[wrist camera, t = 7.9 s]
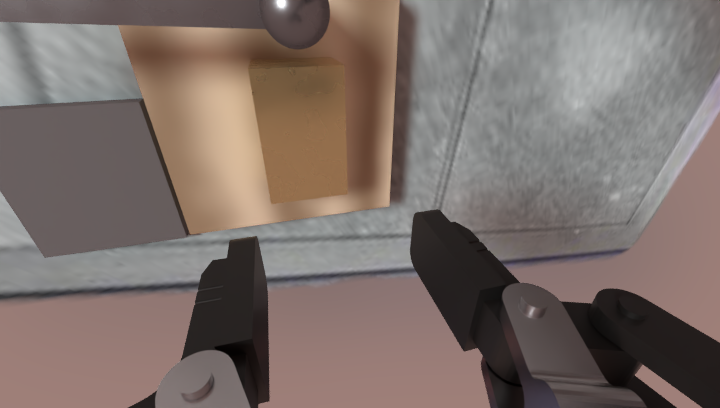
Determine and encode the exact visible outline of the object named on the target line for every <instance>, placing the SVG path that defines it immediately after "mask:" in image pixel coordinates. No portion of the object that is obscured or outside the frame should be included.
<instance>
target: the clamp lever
mask: <svg viewBox="0 0 720 408" xmlns="http://www.w3.org/2000/svg"><path fill="white" fill-rule="evenodd" d="M329 20H330V6H329V1H328V0H0V22H28V23H63V24H99V25H134V26H170V27H205V28H240V29H266V30H267V31H268V33H269V34H270V35H271V36H272V38H273V39H275V40H276V41H277V42H278V43H280V44H281V45H283V46H285V47H288V48H291V49H306V48H309V47H311V46H313V45H315V44H316V43H317V42H318V41H319V40H320V39H321V38H322V37H323V36H324V34H325V32H326V30H327V28H328V24H329Z"/></svg>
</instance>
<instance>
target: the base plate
mask: <svg viewBox="0 0 720 408" xmlns="http://www.w3.org/2000/svg"><path fill="white" fill-rule="evenodd" d="M328 1H329V6H330V20H329V24H328V28H327V30H326V32H325V34H324V36H323V37H322V38H321V39H320V40H319V41H318V42H317V43H316V44H315V45H313V46H311V47H309V48H306V49H291V48H288V47H285V46H283V45H281V44H280V43H278V42H277V41H276V40H275V39H273V38H272V36H271V35H270V34H269V33H268V31H267V30H266V29H240V28H205V27H170V26H134V25H118V27H119V30H120V32H121V35H122V38H123V41H124V44H125V47H126V50H127V53H128V56H129V59H130V61H131V64H132V67H133V70H134V73H135V76H136V79H137V82H138V85H139V88H140V91H141V93H142V96H143V99H144V102H145V105H146V108H147V111H148V114H149V117H150V120H151V122H152V125H153V128H154V131H155V134H156V137H157V140H158V143H159V146H160V149H161V151H162V154H163V157H164V160H165V163H166V166H167V169H168V172H169V175H170V178H171V180H172V183H173V186H174V189H175V192H176V195H177V198H178V201H179V204H180V207H181V210H182V212H183V215H184V218H185V221H186V224H187V227H188V230H189V233H190V235H191V234H198V233H205V232H212V231H219V230H226V229H233V228H240V227H247V226H254V225H261V224H268V223H275V222H282V221H289V220H296V219H303V218H310V217H317V216H324V215H331V214H338V213H345V212H352V211H359V210H366V209H373V208H380V207H388V206H389V202H390V182H391V162H392V142H393V122H394V102H395V82H396V62H397V42H398V22H399V2H400V0H328ZM312 57H332V58H334V59H335V60H337V61H339V62H340V63H342V64H343V65H344V74H345V110H346V146H347V182H348V194H346V195H338V196H331V197H323V198H315V199H308V200H300V201H292V202H285V203H277V204H271V200H270V194H269V189H268V183H267V177H266V171H265V165H264V160H263V154H262V148H261V142H260V136H259V131H258V125H257V119H256V113H255V107H254V102H253V96H252V90H251V84H250V78H249V73H248V67H249V63H250V60H255V59H283V58H312Z"/></svg>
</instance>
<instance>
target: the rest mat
mask: <svg viewBox="0 0 720 408" xmlns="http://www.w3.org/2000/svg"><path fill="white" fill-rule="evenodd" d="M0 191H1V193H2V194H3V196H4V197H5V199H6V200H7V202H8V203H9V205H10V206H11V208H12V209H13V211H14V212H15V214H16V215H17V217H18V218H19V220H20V221H21V223H22V224H23V226H24V227H25V229H26V230H27V232H28V233H29V235H30V236H31V238H32V239H33V241H34V242H35V244H36V245H37V247H38V248H39V250H40V251H41V253H42V254H43V256H44V257H45V258H46V257H53V256H60V255H67V254H74V253H81V252H88V251H95V250H102V249H109V248H116V247H122V246H129V245H136V244H143V243H150V242H157V241H164V240H171V239H178V238H185V237H187V235H188V232H189V230H188V227H187V224H186V221H185V218H184V215H183V212H182V210H181V207H180V204H179V201H178V198H177V195H176V192H175V189H174V186H173V183H172V180H171V178H170V175H169V172H168V169H167V166H166V163H165V160H164V157H163V154H162V151H161V149H160V146H159V143H158V140H157V137H156V134H155V131H154V128H153V125H152V122H151V120H150V117H149V114H148V111H147V108H146V105H145V102H144V99H126V100H108V101H91V102H73V103H55V104H37V105H20V106H2V107H0Z"/></svg>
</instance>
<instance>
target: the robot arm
mask: <svg viewBox="0 0 720 408" xmlns="http://www.w3.org/2000/svg"><path fill="white" fill-rule="evenodd" d="M410 255H411V260H412V264H413V266H414V268H415V270H416V272H417V273H418V275H419V277H420V279H421V280H422V282H423V284H424V285H425V287H426V289H427V290H428V292H429V294H430V295H431V297H432V299H433V300H434V302H435V304H436V305H437V307H438V309H439V310H440V312H441V314H442V316H443V317H444V319H445V320H446V322H447V324H448V326H449V327H450V329H451V331H452V332H453V334H454V336H455V337H456V339H457V341H458V342H459V344H460V346H461V348H462V349H463V351H468V350H472V349H475V348H478V349H479V350H480V352H481V354H482V355H483V357H482V360H481V370H482V374H483V378H484V382H485V386H486V390H487V394H488V399H489V403H490V407H491V408H676V407H675V406H673V405H672V404H671V403H670V402H669V401H667V400H666V399H665V398H663V397H662V396H661V395H659V394H658V393H657V392H655V391H654V390H653V389H652V388H650V387H649V386H648V385H646V384H645V383H644V382H642V381H641V380H640V379H638V378H637V377H636V376H635V374H636V373H637V371H638V370H639V369H640V367H641V366H642V365H645V366H646V367H648V368H649V369H650V370H651V371H653V372H654V373H656V374H657V375H658V376H660V377H661V378H662V379H664V380H665V381H667V382H668V383H669V384H671V385H672V386H673V387H675V388H676V389H678V390H679V391H680V392H682V393H683V394H684V395H686V396H687V397H689V398H690V399H691V400H693V401H694V402H696V403H697V404H698V405H700V406H701V407H702V408H720V343H719V342H717V341H716V340H714V339H712V338H711V337H709V336H707V335H706V334H704V333H702V332H700V331H699V330H697V329H695V328H694V327H692V326H690V325H688V324H687V323H685V322H683V321H682V320H680V319H678V318H677V317H675V316H673V315H672V314H670V313H668V312H666V311H665V310H663V309H661V308H660V307H658V306H656V305H655V304H653V303H651V302H649V301H648V300H646V299H644V298H642V297H640V296H638V295H636V294H633V293H631V292H628V291H624V290H620V289H603V290H601V291H599V292H598V293H597V295H596V297H595V299H594V301H593V303H592V304H590V303H589V304H588V303H575V302H561V301H559V300H558V298H557V297H555V296H554V295H553V294H551V293H550V292H548V291H547V290H545V289H543V288H541V287H539V286H535V285H532V284H528V283H520V282H519V281H518V280H517V279H516V278H515V277H514V276H513V275H512V274H511V273H510V272H509V271H508V270H507V269H506V267H505V266H504V265H503V264H502V263H501V262H500V261H499V260H498V259H497V258H496V257H495V256H494V255H493V254H492V253H491V252H490V251H488V250H487V248H486V247H485V245H484V244H483V243H482V242H479V239H478V238H477V237H476V236H475V235H474V234H473V233H472V232H471V231H470V230H469V229H467V228H465V227H464V226H462V225H460V224H458V223H457V222H450V221H449V220H448V219H447V218H446V217H445V215H444V214H443V213H442V212H441V211H440V210H430V211H424V212H417V213H415V214H414V217H413V226H412V236H411V247H410ZM268 347H269V341H268V291H267V281H266V275H265V270H264V266H263V261H262V256H261V251H260V247H259V242H258V238H257V236H254V237H247V238H241V239H234V240H230V242H229V249H228V255H227V258H225V259H219V260H213V261H212V262H211V263H210V264H209V266H208V267H207V268H206V269H205V271H204V272H203V273H202V275H201V279H200V283H199V288H198V292H197V296H196V300H195V305H194V309H193V313H192V317H191V321H190V326H189V330H188V334H187V339H186V343H185V347H184V351H183V355H182V358H181V361H180V362H179V363H177V364H176V365H175V366H174V367H173V368H172V369H171V370H170V371H169V372H168V373H167V374H166V376H165V377H164V378H163V380H162V381H161V383H160V385H159V387H158V390H157V391H156V392H155V393H153V394H152V395H150V396H149V397H147V398H145V399H144V400H142V401H140V402H138V403H136V404H134V405H132V406H130V407H129V408H258V404H260V403H264V402H268V401H269V348H268Z"/></svg>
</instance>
